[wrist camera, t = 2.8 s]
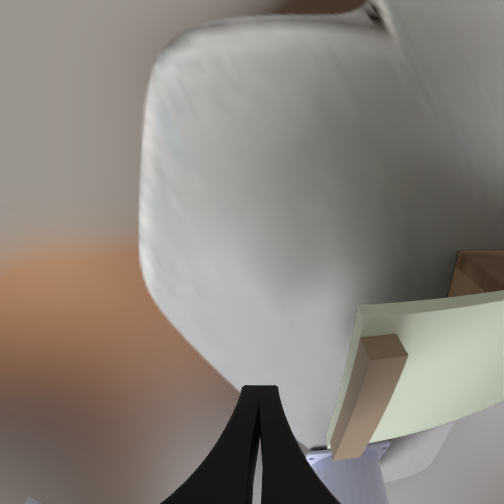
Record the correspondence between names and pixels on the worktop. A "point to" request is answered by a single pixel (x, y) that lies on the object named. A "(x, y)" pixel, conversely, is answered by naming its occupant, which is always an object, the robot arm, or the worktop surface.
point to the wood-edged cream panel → (418, 368)
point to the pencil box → (477, 272)
